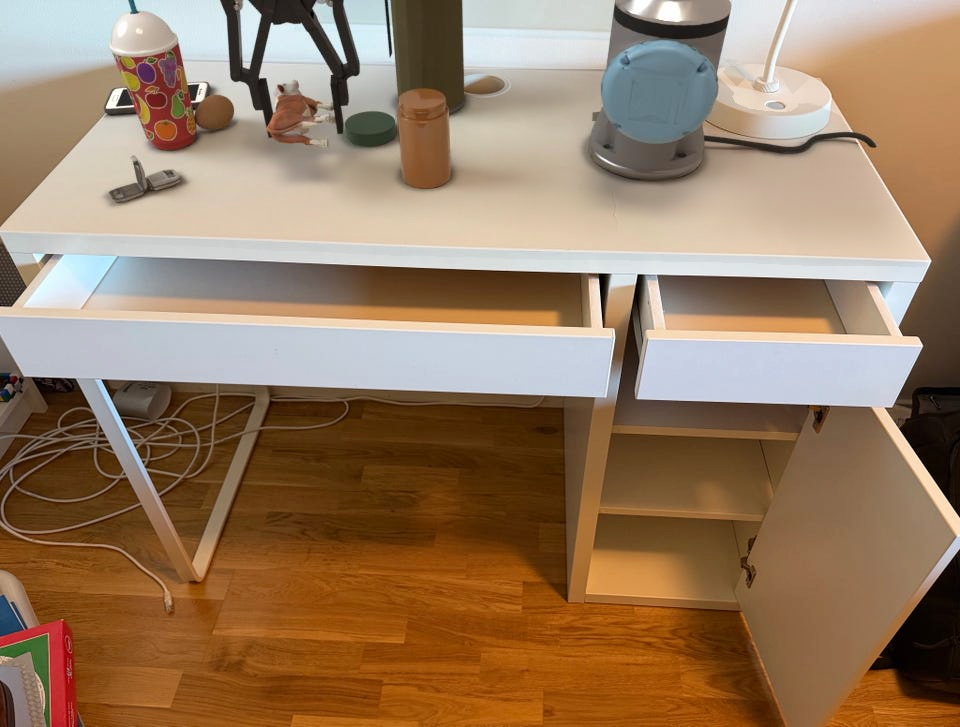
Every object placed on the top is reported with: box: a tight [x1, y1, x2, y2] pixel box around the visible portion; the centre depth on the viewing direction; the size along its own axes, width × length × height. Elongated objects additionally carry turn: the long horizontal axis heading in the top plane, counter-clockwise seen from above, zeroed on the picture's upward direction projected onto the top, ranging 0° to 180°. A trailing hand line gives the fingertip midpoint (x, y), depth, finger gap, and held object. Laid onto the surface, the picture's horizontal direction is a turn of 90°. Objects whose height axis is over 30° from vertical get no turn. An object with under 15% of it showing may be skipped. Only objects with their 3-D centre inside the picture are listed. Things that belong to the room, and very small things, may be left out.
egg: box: [194, 94, 235, 131], centre depth 107 cm, size 4×4×6 cm
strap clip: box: [108, 154, 181, 203], centre depth 95 cm, size 8×3×4 cm, turn 126°
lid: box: [344, 110, 397, 147], centre depth 106 cm, size 7×7×2 cm
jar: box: [396, 88, 452, 189], centre depth 95 cm, size 6×6×10 cm
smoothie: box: [108, 0, 198, 151], centre depth 98 cm, size 8×8×20 cm
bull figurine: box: [266, 79, 336, 148], centre depth 94 cm, size 4×13×8 cm
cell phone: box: [103, 81, 211, 115], centre depth 114 cm, size 8×15×1 cm, turn 100°
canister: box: [384, 0, 467, 115], centre depth 107 cm, size 11×10×20 cm
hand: (306, 130), depth 96 cm, fingers closed on bull figurine, 8 cm apart
